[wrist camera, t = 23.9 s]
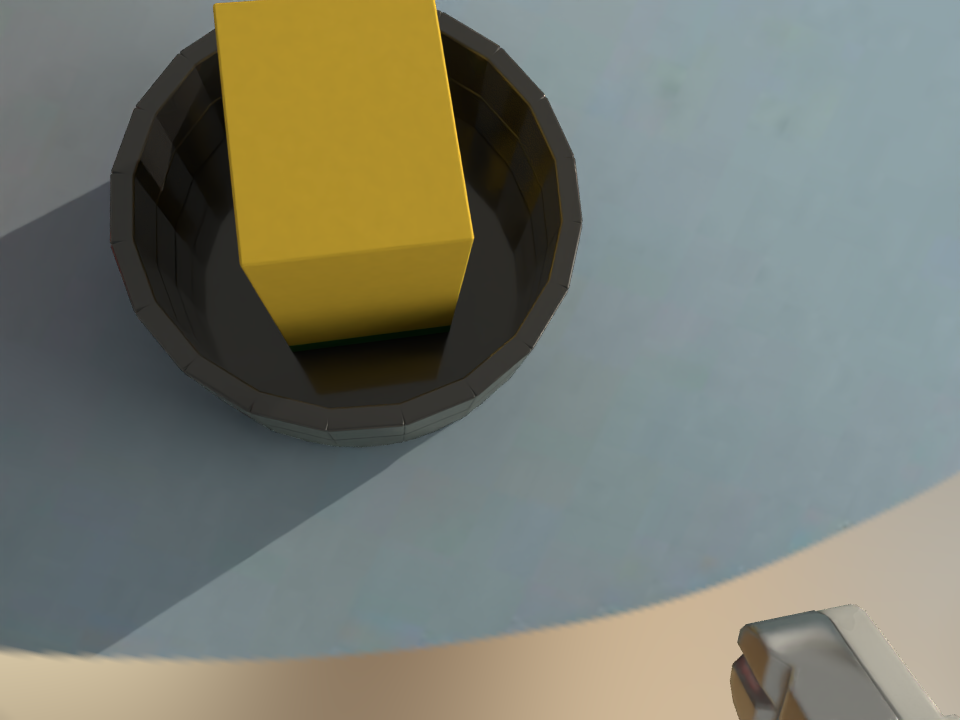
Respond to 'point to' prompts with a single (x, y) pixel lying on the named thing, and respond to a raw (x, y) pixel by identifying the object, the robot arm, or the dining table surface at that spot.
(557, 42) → the dining table surface
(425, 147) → the sponge
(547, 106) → the bowl
